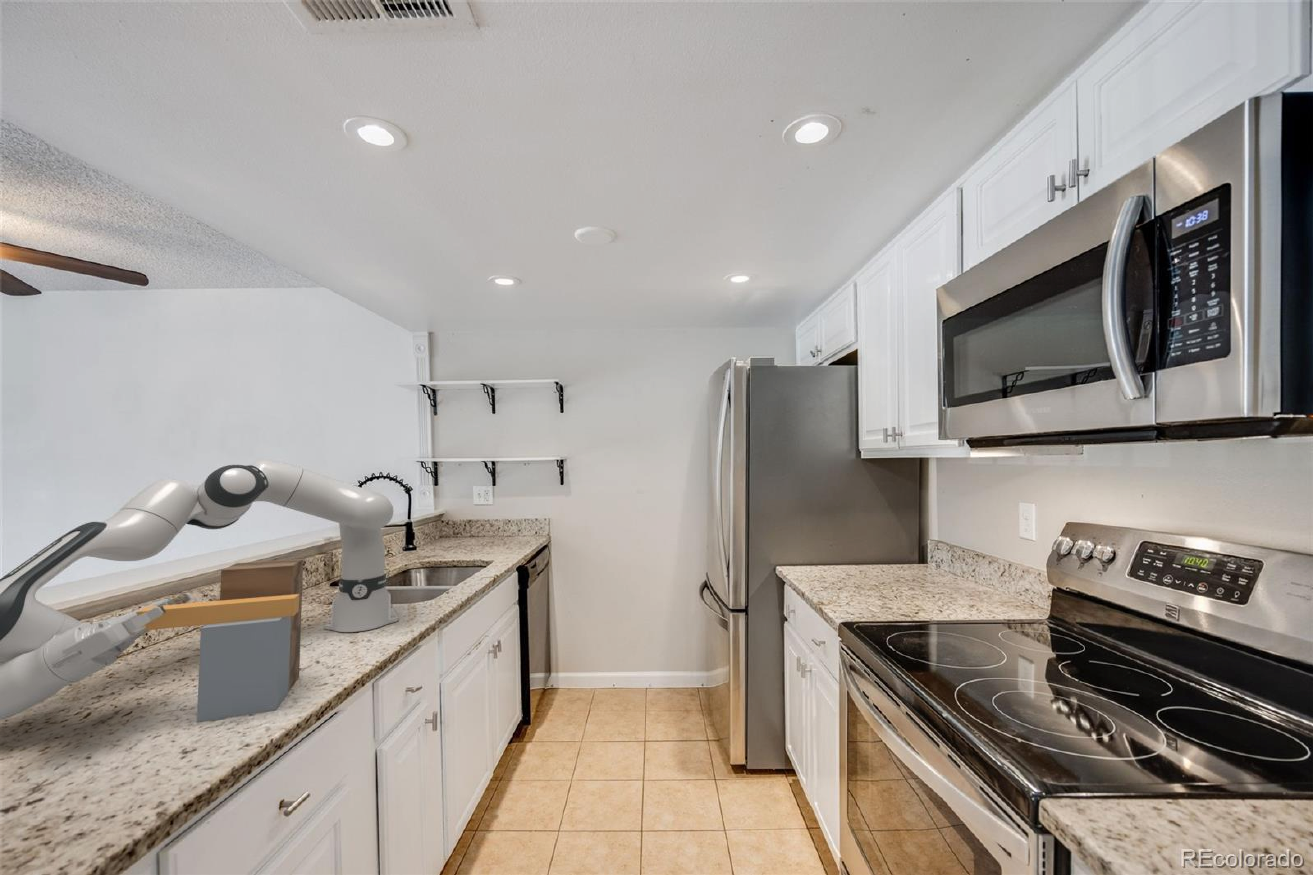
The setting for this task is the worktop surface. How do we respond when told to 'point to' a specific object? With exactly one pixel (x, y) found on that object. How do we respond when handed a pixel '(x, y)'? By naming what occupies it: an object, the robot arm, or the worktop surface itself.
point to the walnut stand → (268, 593)
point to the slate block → (243, 667)
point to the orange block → (223, 611)
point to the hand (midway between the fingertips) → (175, 602)
